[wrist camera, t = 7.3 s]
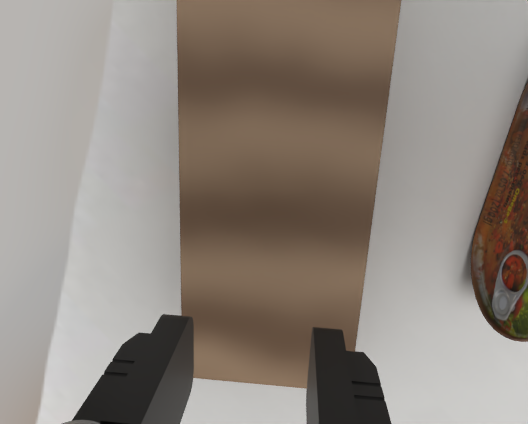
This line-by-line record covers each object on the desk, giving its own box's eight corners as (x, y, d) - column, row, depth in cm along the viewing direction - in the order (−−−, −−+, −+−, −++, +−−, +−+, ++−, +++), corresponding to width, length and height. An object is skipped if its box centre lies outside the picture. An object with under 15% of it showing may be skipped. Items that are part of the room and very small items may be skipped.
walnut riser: (192, -20, 22) (176, -35, 19) (390, -13, 21) (404, -27, 18) (194, 346, 29) (182, 376, 26) (344, 360, 28) (349, 392, 25)
